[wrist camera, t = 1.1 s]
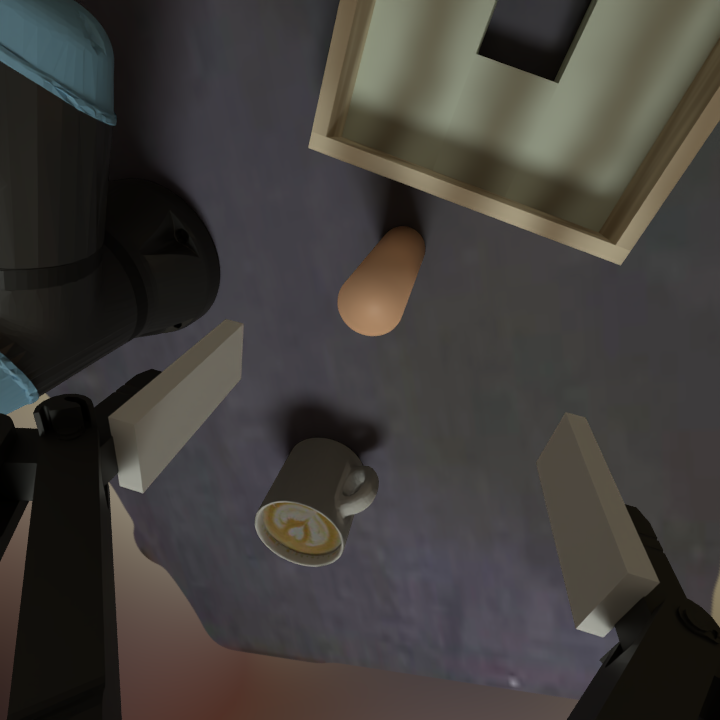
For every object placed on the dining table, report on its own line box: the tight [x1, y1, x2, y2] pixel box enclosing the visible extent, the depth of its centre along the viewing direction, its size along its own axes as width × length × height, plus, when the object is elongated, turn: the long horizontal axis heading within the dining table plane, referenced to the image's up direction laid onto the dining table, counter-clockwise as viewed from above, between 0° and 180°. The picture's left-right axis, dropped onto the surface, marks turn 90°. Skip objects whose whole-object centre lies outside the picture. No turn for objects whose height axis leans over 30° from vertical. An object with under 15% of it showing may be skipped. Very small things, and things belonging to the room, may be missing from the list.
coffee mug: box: [255, 438, 379, 567], centre depth 46 cm, size 13×10×10 cm
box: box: [308, 0, 720, 265], centre depth 24 cm, size 22×22×7 cm
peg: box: [338, 226, 425, 336], centre depth 30 cm, size 4×4×14 cm
